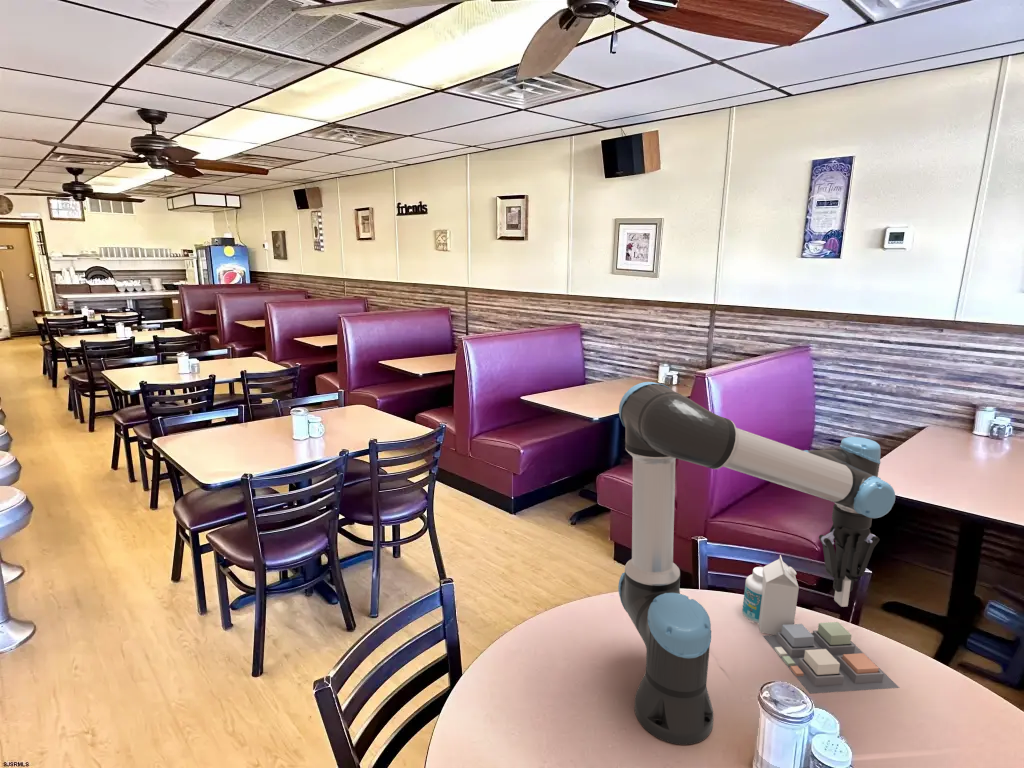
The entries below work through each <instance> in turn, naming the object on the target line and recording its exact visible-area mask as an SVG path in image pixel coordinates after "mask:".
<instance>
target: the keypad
mask: <svg viewBox="0 0 1024 768" xmlns="http://www.w3.org/2000/svg"><path fill="white" fill-rule="evenodd" d="M810 633H811V634H812V635H813V636H814V643H813V646H806V647H792V645H791V644H790V643H789V642H788V641H787V640H786V639H785V637H784V636H783V635H782V632H779V633H777V635H772V634H764V635H762V637H763V638H764V640H765V641H766V642H767V643H768V645H769V646H770V647H771V648H772V649H773V651H774V653H776V654H777V656H778V657H779V658H780V659H781V661H782V662H783V663H784V664H785V665H786V667H787V668H788V669H789V670H790V671H791V673H792V674H793V676H794V677H795V678H796V679H797V680H798V681H799V683H800V684H801V685H802V686H803V688H804V689H805V690H806V691H807V692H808V694H810V695H811V694H824V693H825V694H827V693H838V692H840V693H841V692H842V693H843V692H855V691H868V690H869V691H870V690H871V691H873V690H885V689H886V690H888V689H900V686H899V685H898V684H897V683H895V682H894V681H893V679H891V677H890V676H889V675H887V673H885V672H884V671H883V670H882V669H881V668H880V667H879V666H878V665H877V664H876V663H875V662H873V663H874V664H875V665H876V666H877V667H878V668H879V670H878V673H865V674H856V673H855V672H854V671H853V670H852V669H851V667H850V666H849V665H848V664H847V663H846V662H845V661H844V660H843V659H842V657H843V654H858V653H864V652H863V651H862V650H861V649H860V648H859V646H857V645H856V644H855V643H854V642H853V641H852V640H851V642H850V644H841V645H830V644H829V643H828V642H827V641H826V640H825V639H824V638H823V637H822V636H821V635H820V634H819V633H818V629H815V630H812V632H810ZM815 649H826V650H827V651H828V652H829V653H830V654H831V655H832V656H833V657H834V658H835V659H836V660H837V661H838V662H839V663H840V667H839V674H825V675H817V674H816V673H815V672H814V671H813V670H812V668H811V667H810V666H809V665H808V664H807V663H806V661H805V660H804V655H805V650H815Z"/></svg>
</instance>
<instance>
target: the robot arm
mask: <svg viewBox="0 0 1024 768" xmlns="http://www.w3.org/2000/svg"><path fill="white" fill-rule="evenodd" d="M618 415H619V418H620V419H619V420H620V421H621V424H622V426H623V427H624V428H625V438H624V439H625V441H624V442H625V444H624V445H625V447H624V448H625V451H626V452H627V453H628V454H629V455H630V456H631V457H632V507H631V508H632V509H631V510H632V513H631V514H632V520H631V521H632V522H631V524H632V526H631V527H632V528H631V529H632V530H631V531H632V532H631V559H629V560H628V561H627V562H626V564H625V566H624V572H622V573H621V575H620V577H619V579H618V586H617V587H618V595H619V598H620V602H621V605H622V608H623V609H624V610H625V612H626V613H627V615H628V616H629V618H630V620H631V622H632V623H633V625H634V626H635V629H636V630H637V632H638V634H639V635H640V638H641V639H642V641H643V643H644V644H645V648H646V654H645V655H646V656H645V658H646V659H645V673H644V675H643V677H642V679H641V681H640V683H639V686H638V688H637V690H636V692H635V695H634V712H635V717H636V718H637V720H638V722H639V724H640V725H641V726H642V728H644V729H645V730H646V731H647V732H648V733H650V734H651V735H653V736H654V737H655V738H657V739H659V740H661V741H663V742H667V743H670V744H675V745H685V746H686V745H693V744H696V743H699V742H702V741H704V740H705V739H707V738H708V736H709V735H710V734H711V733H712V730H713V726H714V709H713V705H712V702H711V698H710V694H709V690H708V687H707V682H708V681H707V680H708V671H709V661H710V660H709V658H710V647H711V643H712V630H711V629H712V627H711V626H712V624H711V619H710V616H709V614H708V612H707V610H706V609H705V608H704V606H703V604H701V603H700V602H698V601H697V600H696V599H694V598H691V599H690V598H689V596H687V595H685V594H682V593H680V592H681V589H680V588H681V587H680V585H681V583H680V582H681V570H680V568H679V566H677V564H676V563H674V531H675V530H674V527H675V526H674V525H675V497H676V496H675V492H676V489H675V488H676V459H678V460H680V461H684V462H688V463H691V464H695V465H698V466H701V467H702V466H703V467H704V468H708V469H712V470H719V469H721V468H727V469H730V470H731V471H732V470H733V471H736V472H739V473H741V474H742V473H743V474H746V475H748V476H752V477H755V478H758V479H760V480H765V481H767V482H770V483H773V484H777V485H779V486H783V487H786V488H790V489H792V490H795V491H799V492H802V493H804V494H808V495H811V496H815V497H816V498H817V497H818V498H821V499H822V500H823V499H824V500H826V501H830V502H832V503H833V507H832V514H831V518H832V519H831V520H832V525H831V527H830V530H829V532H828V533H827V534H825V535H824V534H820V535H819V536H818V539H819V540H820V543H821V544H822V551H823V558H824V566H825V572H826V573H827V574H829V575H830V576H831V577H832V578H833V581H832V582H833V584H832V588H833V590H834V595H833V596H834V597H833V598H834V599H833V600H834V602H835V603H837V604H838V605H839V606H840V607H841V608H842V607H843V608H844V607H849V606H848V605H849V601H850V600H849V598H850V592H852V591H853V590H854V589H853V588H854V582H858V580H859V578H858V577H860V578H861V577H864V575H865V572H866V570H867V567H868V564H869V561H870V560H871V557H872V553H874V549H875V547H876V546H877V544H878V543H879V542H880V538H879V537H878V536H876V535H875V534H873V533H872V532H871V529H870V528H872V521H873V519H878V518H879V519H880V518H882V517H884V516H885V515H887V514H889V512H890V511H891V510H892V508H893V507H894V504H895V503H896V502H895V501H896V492H895V489H894V488H893V486H892V485H891V484H890V483H888V482H887V481H885V480H883V479H881V477H880V476H879V470H880V465H881V451H882V450H881V445H880V444H879V443H878V442H877V441H875V440H872V439H869V438H865V437H860V436H848V437H844V438H842V439H841V442H840V445H839V448H835V449H817V450H816V449H814V450H807V449H804V450H803V449H799V448H795V447H794V446H791V445H788V444H785V443H781V442H780V441H779V442H778V441H777V440H774V439H770V438H768V437H763V436H761V435H759V434H755V433H753V432H750V431H746V430H744V429H741V428H739V427H737V426H736V424H735V423H734V421H732V420H731V419H728V418H726V417H723V416H721V415H719V414H716V413H714V412H712V411H710V410H708V409H707V408H705V407H703V406H702V405H700V404H699V403H697V402H695V401H694V400H692V399H691V398H689V397H687V396H685V395H683V394H681V393H679V392H677V391H675V390H673V389H671V387H669V386H667V385H665V384H662V383H658V382H654V381H644V382H640V383H637V384H635V385H633V386H632V387H630V388H629V389H628V390H627V391H626V392H625V393H624V395H623V396H622V397H621V400H620V401H619V405H618ZM834 541H835V542H834ZM834 545H835V546H834Z"/></svg>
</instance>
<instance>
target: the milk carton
mask: <svg viewBox="0 0 1024 768" xmlns="http://www.w3.org/2000/svg"><path fill="white" fill-rule="evenodd" d="M762 567H763V582H762V588H763V589H762V599H761V607H760V615H759V623H758V628H759V633H761V634H765V635H777V633H779V632H782V625H789V624H795V617H796V609H797V604H798V603H797V602H798V596H799V589H800V588H799V584H798V581H797V578H796V575H797V571H796V570H795V569H794V568H793V567H792V566H789V565H788V564H787V563H785V562H784V561H783V558H782V555H781V554H780V555H779V558H778V559H776V560H774V561H772V562H769V563H768V564H766V565H765V566H762Z"/></svg>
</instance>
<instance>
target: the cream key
mask: <svg viewBox="0 0 1024 768" xmlns="http://www.w3.org/2000/svg"><path fill="white" fill-rule="evenodd" d="M804 660H805V661H806V663H807V664H808V665H809V666H810V667H811V668H812V670H813V671H814V672H815V673H816V674H817V675H825V674H839V667H840V663H839V662H838V661H837V660H836V659H835V658H834V657H833V656H832V655H831V654H830V653H829V652H828V651H827V650H826V649H815V650H805V655H804Z"/></svg>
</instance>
